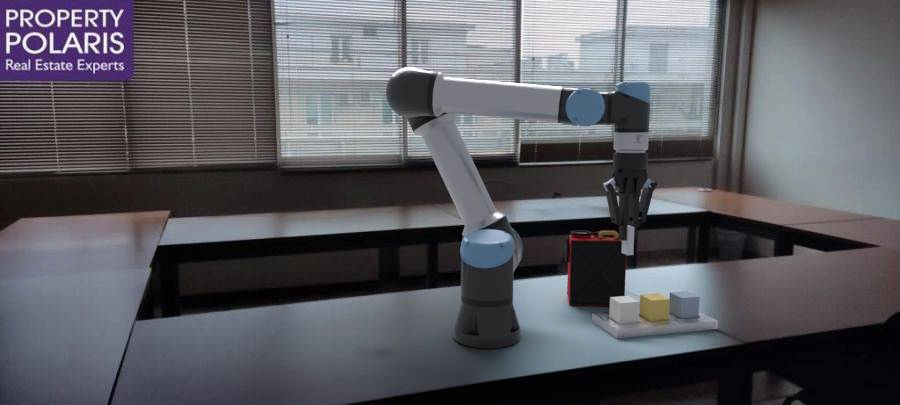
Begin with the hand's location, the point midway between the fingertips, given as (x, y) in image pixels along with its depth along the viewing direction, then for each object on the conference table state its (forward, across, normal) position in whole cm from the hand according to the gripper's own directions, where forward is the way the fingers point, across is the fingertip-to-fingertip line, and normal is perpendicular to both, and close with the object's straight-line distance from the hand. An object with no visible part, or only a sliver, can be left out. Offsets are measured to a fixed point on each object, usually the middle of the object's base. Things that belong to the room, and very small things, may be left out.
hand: (627, 253), depth 138 cm
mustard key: (+16, +8, 0) cm, 18 cm away
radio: (+18, +3, +21) cm, 28 cm away
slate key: (+16, +16, 0) cm, 22 cm away
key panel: (+18, +8, 0) cm, 19 cm away
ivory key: (+16, 0, 0) cm, 16 cm away
